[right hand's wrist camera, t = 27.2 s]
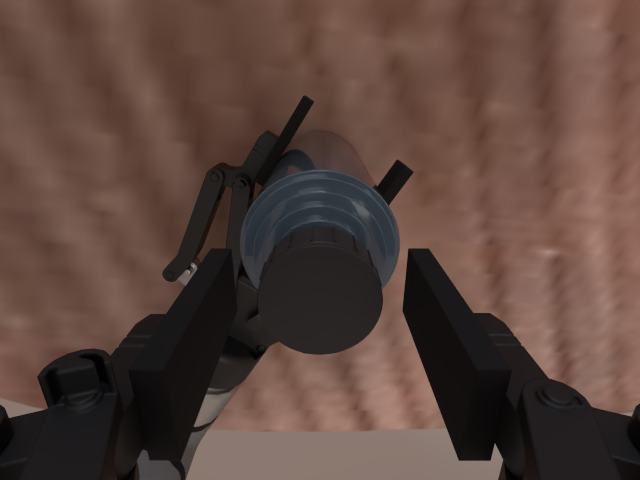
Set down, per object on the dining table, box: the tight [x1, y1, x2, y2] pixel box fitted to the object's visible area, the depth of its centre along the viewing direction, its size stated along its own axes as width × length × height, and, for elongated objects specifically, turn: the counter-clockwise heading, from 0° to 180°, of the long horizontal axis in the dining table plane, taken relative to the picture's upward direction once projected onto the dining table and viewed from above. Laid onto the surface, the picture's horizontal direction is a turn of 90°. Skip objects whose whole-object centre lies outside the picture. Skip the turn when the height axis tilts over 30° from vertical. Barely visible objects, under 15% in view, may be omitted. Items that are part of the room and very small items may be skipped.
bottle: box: [240, 131, 400, 289], centre depth 23 cm, size 7×7×21 cm
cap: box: [257, 226, 383, 355], centre depth 14 cm, size 4×4×2 cm
